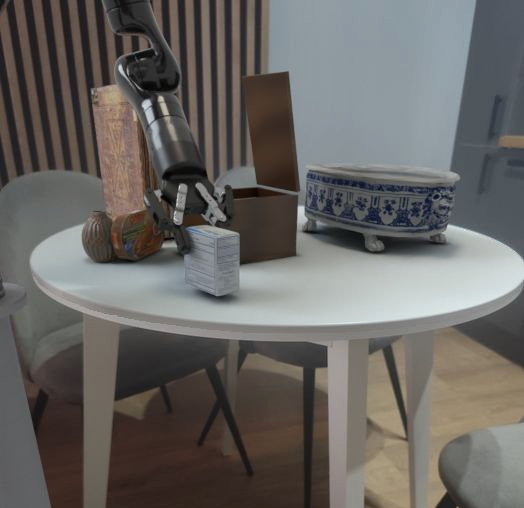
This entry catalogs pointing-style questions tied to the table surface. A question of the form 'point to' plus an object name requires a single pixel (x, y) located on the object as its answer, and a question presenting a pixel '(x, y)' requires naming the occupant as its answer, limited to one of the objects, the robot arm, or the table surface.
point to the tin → (136, 235)
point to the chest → (259, 223)
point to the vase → (98, 237)
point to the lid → (272, 130)
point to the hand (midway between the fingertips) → (207, 249)
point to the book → (123, 154)
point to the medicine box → (212, 260)
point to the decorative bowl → (380, 200)
